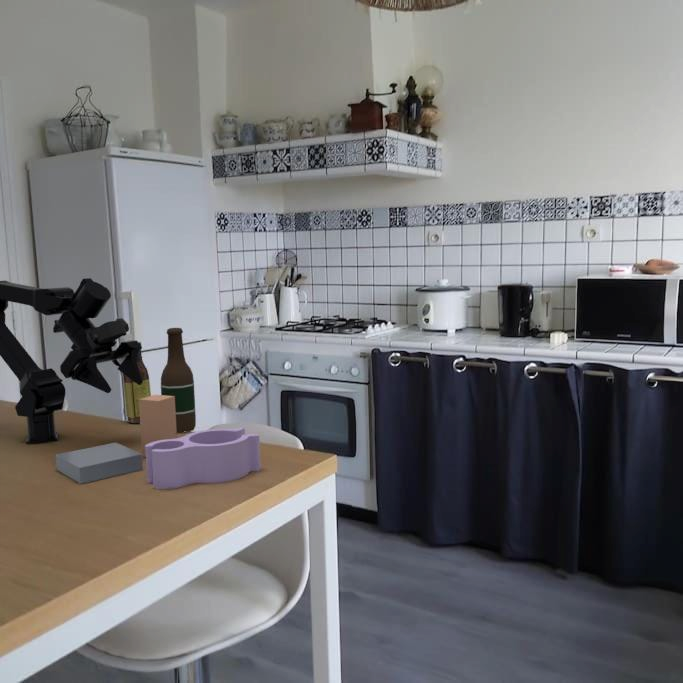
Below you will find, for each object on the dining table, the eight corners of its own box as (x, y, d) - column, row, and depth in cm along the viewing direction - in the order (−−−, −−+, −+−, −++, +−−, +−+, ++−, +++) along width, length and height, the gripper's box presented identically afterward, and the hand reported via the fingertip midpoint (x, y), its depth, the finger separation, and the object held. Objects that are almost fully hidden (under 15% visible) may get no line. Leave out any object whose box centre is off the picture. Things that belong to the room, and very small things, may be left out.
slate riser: (56, 469, 133) (55, 454, 133) (116, 456, 141) (115, 442, 141) (80, 484, 124) (79, 467, 124) (142, 469, 132) (141, 454, 132)
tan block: (142, 457, 140) (138, 399, 139) (158, 450, 145) (155, 394, 143) (161, 459, 138) (158, 401, 137) (177, 453, 143) (174, 396, 141)
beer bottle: (167, 435, 157) (161, 330, 155) (159, 428, 164) (153, 328, 161) (200, 430, 161) (195, 328, 158) (191, 423, 168) (186, 325, 165)
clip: (161, 496, 118) (159, 456, 117) (140, 477, 128) (138, 440, 127) (267, 473, 128) (265, 437, 127) (239, 458, 139) (238, 424, 138)
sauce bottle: (156, 418, 174) (152, 340, 172) (147, 424, 168) (142, 343, 166) (131, 418, 175) (126, 340, 173) (121, 424, 169) (116, 344, 167)
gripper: (66, 310, 135) (112, 369, 132) (132, 303, 152) (175, 355, 149) (40, 349, 140) (84, 406, 136) (108, 338, 156) (148, 389, 153)
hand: (126, 387), depth 143 cm, fingers open, 9 cm apart
